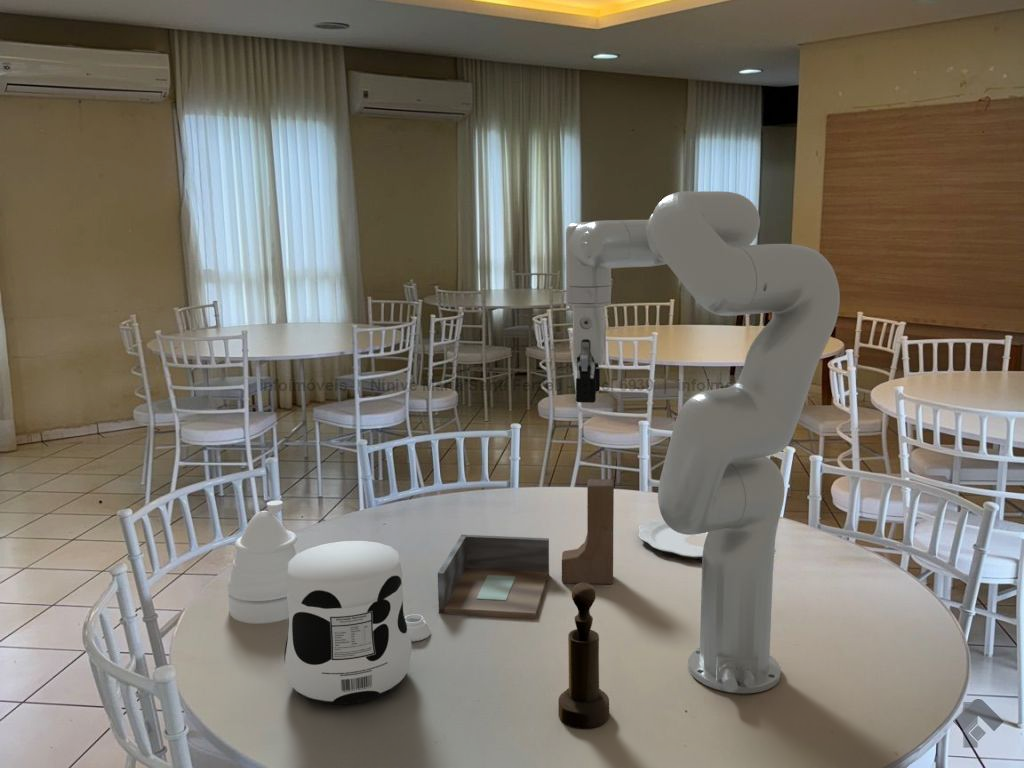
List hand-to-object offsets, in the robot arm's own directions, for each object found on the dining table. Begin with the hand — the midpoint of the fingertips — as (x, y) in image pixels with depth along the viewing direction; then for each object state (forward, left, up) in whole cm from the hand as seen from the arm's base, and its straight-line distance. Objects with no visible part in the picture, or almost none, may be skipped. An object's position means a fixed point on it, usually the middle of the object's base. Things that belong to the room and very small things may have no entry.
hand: (588, 396), depth 151 cm
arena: (-8, +15, -33) cm, 37 cm away
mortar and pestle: (-44, -3, -34) cm, 55 cm away
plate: (+22, -21, -34) cm, 45 cm away
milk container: (-40, +30, -34) cm, 60 cm away
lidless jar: (-25, +25, -34) cm, 49 cm away
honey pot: (-18, +52, -34) cm, 65 cm away
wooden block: (0, 0, -34) cm, 34 cm away
